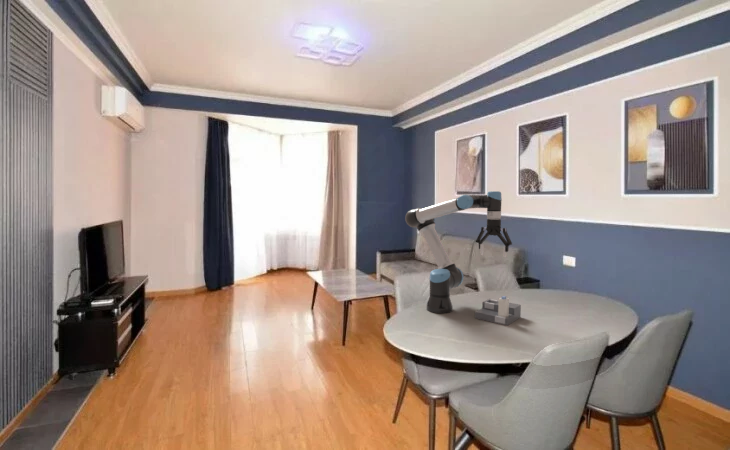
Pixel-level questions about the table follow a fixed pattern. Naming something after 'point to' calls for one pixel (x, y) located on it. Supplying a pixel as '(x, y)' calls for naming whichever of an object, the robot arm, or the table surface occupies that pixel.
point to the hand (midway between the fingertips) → (493, 256)
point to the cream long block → (503, 307)
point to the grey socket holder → (491, 312)
